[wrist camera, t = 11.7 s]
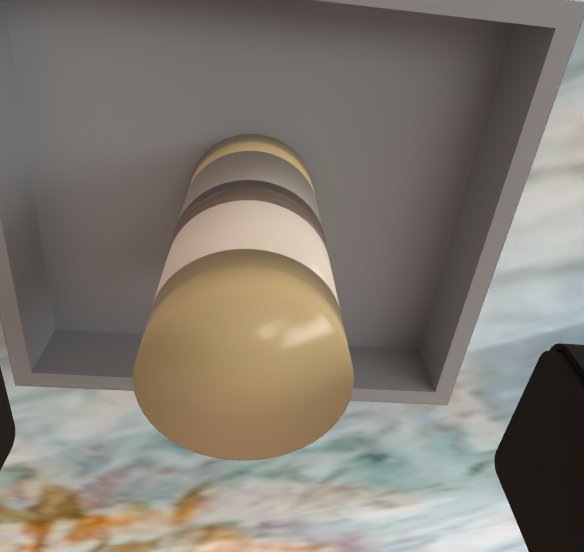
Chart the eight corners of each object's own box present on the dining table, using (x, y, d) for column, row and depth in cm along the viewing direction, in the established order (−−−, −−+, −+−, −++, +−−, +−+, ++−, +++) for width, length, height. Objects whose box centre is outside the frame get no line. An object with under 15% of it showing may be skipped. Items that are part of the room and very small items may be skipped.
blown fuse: (321, 139, 16) (373, 301, 9) (306, 252, 19) (337, 463, 11) (190, 128, 16) (125, 287, 8) (189, 245, 18) (137, 458, 11)
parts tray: (534, -6, 15) (589, 3, 13) (426, 352, 22) (447, 404, 19) (-22, -73, 14) (-87, -79, 11) (46, 331, 21) (15, 385, 18)
